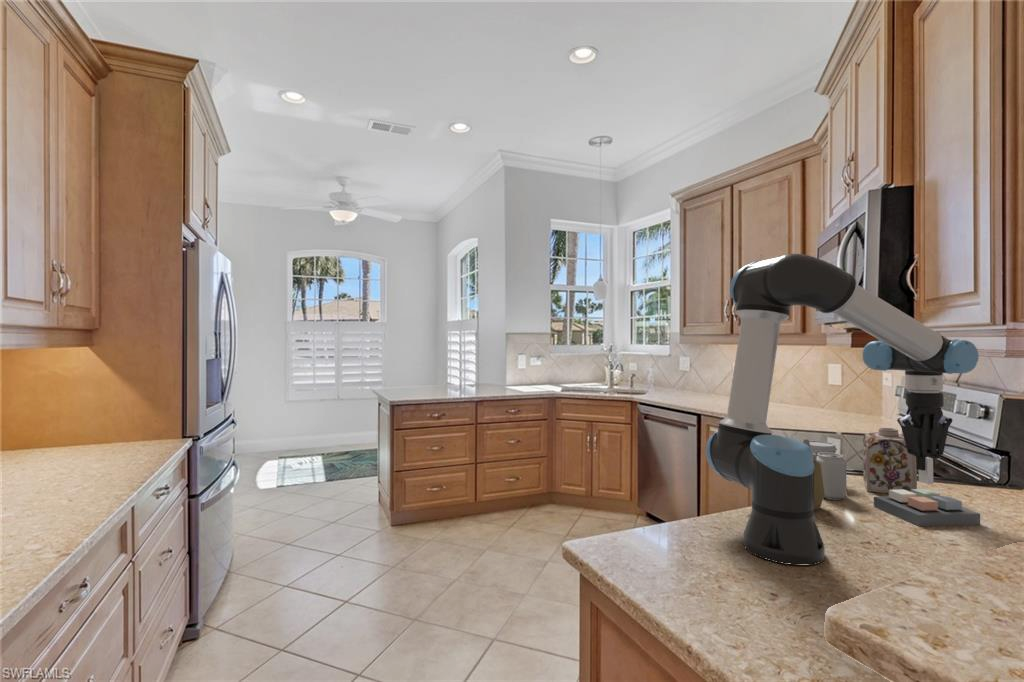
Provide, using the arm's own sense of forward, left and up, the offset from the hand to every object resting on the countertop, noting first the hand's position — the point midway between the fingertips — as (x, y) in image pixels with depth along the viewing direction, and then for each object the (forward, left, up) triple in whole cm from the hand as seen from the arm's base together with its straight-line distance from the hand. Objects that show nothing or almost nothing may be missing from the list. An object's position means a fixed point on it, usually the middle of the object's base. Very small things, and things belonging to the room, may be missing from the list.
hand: (926, 482), depth 128 cm
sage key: (0, 0, -5) cm, 5 cm away
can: (-16, +13, -8) cm, 22 cm away
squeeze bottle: (-28, +5, -8) cm, 30 cm away
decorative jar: (+5, +18, -8) cm, 20 cm away
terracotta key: (-6, -6, -5) cm, 10 cm away
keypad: (-3, -3, -7) cm, 9 cm away
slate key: (0, -6, -5) cm, 8 cm away
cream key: (-6, 0, -5) cm, 8 cm away
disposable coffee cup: (-10, +27, -8) cm, 30 cm away
